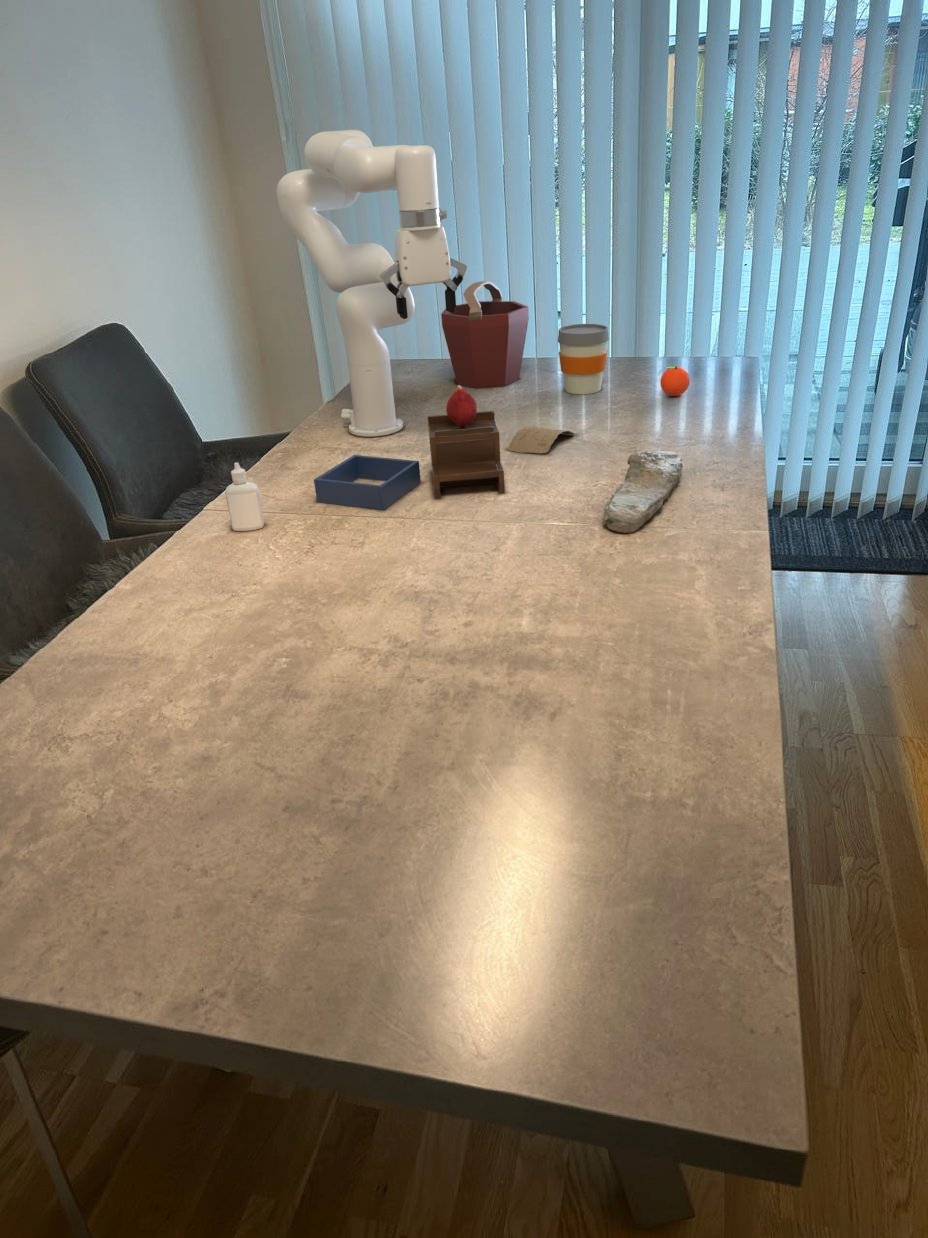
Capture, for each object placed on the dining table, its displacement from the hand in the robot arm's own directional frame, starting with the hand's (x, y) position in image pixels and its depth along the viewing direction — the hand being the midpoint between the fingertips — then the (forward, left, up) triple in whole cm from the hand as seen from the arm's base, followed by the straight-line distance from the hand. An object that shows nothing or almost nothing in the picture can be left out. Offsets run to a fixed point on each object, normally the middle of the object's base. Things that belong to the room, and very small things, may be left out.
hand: (427, 314), depth 175 cm
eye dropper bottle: (-15, -46, -28) cm, 56 cm away
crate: (-2, -24, -28) cm, 38 cm away
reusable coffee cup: (+14, +55, -28) cm, 64 cm away
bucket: (-15, +59, -28) cm, 67 cm away
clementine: (+37, +54, -28) cm, 71 cm away
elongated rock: (+48, -13, -28) cm, 57 cm away
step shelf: (+14, -14, -28) cm, 35 cm away
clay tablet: (+19, +12, -28) cm, 36 cm away
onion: (+12, -12, -18) cm, 25 cm away
